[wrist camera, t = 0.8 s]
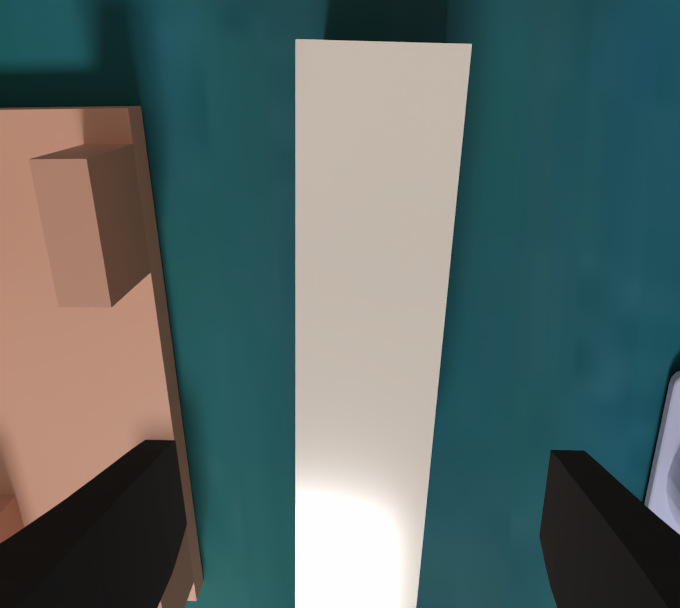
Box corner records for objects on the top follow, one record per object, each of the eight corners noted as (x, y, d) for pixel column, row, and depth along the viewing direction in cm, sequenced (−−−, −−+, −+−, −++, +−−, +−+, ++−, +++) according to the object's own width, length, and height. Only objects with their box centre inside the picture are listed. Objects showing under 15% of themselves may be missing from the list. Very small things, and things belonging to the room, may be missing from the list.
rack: (140, 105, 18) (79, 116, 15) (203, 581, 26) (172, 669, 22) (-108, 109, 19) (-227, 120, 15) (20, 573, 26) (-41, 658, 22)
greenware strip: (444, 49, 18) (471, 43, 12) (407, 498, 23) (413, 633, 18) (323, 46, 18) (295, 39, 12) (316, 492, 24) (295, 624, 18)
